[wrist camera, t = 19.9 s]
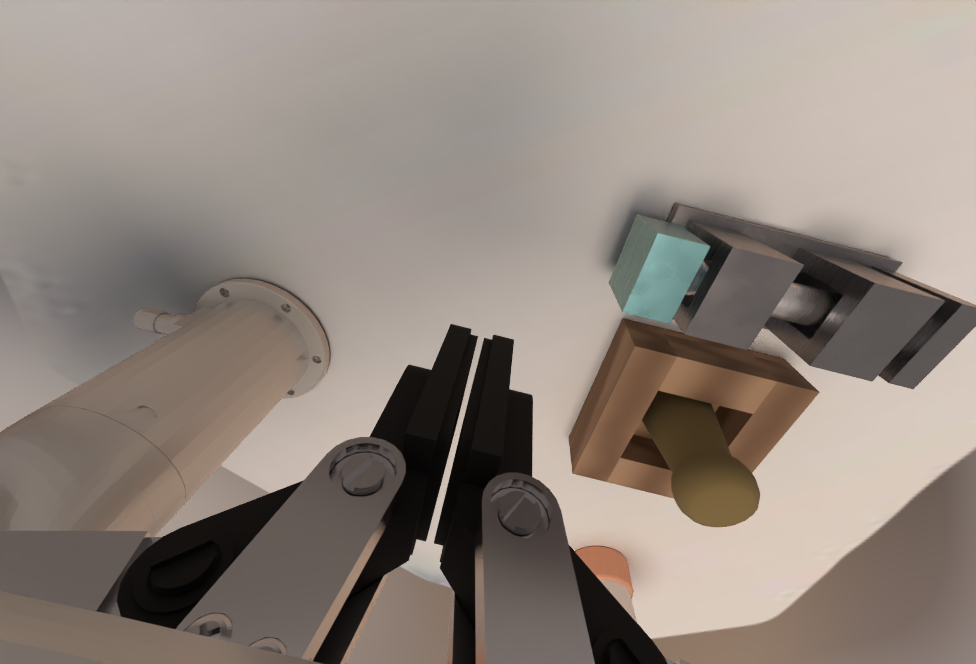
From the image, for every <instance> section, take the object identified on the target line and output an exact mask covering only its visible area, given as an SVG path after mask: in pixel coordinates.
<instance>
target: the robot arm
mask: <svg viewBox="0 0 976 664" xmlns="http://www.w3.org/2000/svg"><path fill="white" fill-rule="evenodd" d="M133 324H134V325H135V327H136V328H140V329H144V330H148V331H152V332H156V333H164V334H167V336H165V337H163V338H161V339H160V340H158V341H156V342H154V343H153V344H151V345H149V346H147V347H146V348H144V349H142V350H140V351H139V352H137V353H135V354H134V355H132V356H130V357H128V358H127V359H125V360H123V361H121V362H120V363H118V364H116V365H114V366H113V367H111V368H109V369H107V370H106V371H104V372H102V373H100V374H99V375H97V376H95V377H93V378H92V379H90V380H88V381H87V382H85V383H83V384H81V385H80V386H78V387H76V388H74V389H73V390H71V391H69V392H67V393H66V394H64V395H62V396H60V397H59V398H57V399H55V400H53V401H52V402H50V403H48V404H46V405H45V406H43V407H41V408H40V409H38V410H36V411H35V412H32V413H31V414H29V415H27V416H26V417H24V418H22V419H21V420H19V421H17V422H16V423H14V424H12V425H11V426H9V427H7V428H6V429H5V430H3V431H2V432H0V664H346V663H347V661H348V659H349V657H350V655H351V653H352V651H353V649H354V646H355V645H356V643H357V640H358V638H359V636H360V634H361V632H362V630H363V628H364V626H365V624H366V622H367V620H368V618H369V616H370V613H371V611H372V609H373V607H374V605H375V603H376V601H377V599H378V597H379V595H380V592H381V591H382V588H383V586H384V584H385V582H386V580H387V576H388V573H389V572H391V571H392V570H394V569H395V568H397V567H399V566H400V565H402V564H404V563H405V562H407V561H409V557H410V555H412V553H413V550H414V546H415V543H416V539H418V540H422V541H426V539H427V535H428V532H429V528H430V524H431V520H432V516H433V512H434V509H435V505H436V501H437V497H438V493H439V489H440V486H441V482H442V478H443V474H444V470H445V467H446V463H447V459H448V455H449V451H450V447H451V444H452V440H453V436H454V432H455V428H456V424H457V421H458V417H459V413H460V408H461V404H462V400H463V396H464V392H465V388H466V384H467V380H468V375H469V371H470V367H471V363H472V359H473V355H474V351H475V347H476V342H477V338H478V336H474V335H470V334H471V329H469V328H465V327H461V326H457V325H453V324H451V325H450V327H449V330H448V332H447V335H446V337H445V339H444V342H443V344H442V346H441V349H440V351H439V354H438V356H437V358H436V361H435V363H434V365H433V368H432V370H429V369H425V368H421V367H417V366H413V365H408V366H407V367H406V369H405V371H404V373H403V375H402V377H401V378H400V380H399V382H398V384H397V386H396V388H395V390H394V392H393V394H392V395H391V397H390V399H389V401H388V403H387V405H386V407H385V409H384V411H383V413H382V414H381V416H380V418H379V420H378V422H377V424H376V426H375V428H374V430H373V431H372V433H371V435H370V437H359V438H354V439H350V440H347V441H345V442H343V443H341V444H339V445H337V446H335V447H334V448H333V449H332V450H331V451H330V452H328V453H327V454H326V456H325V457H324V458H323V459H322V460H321V461H320V462H319V464H318V465H317V466H316V467H315V468H314V469H313V471H312V472H311V473H310V474H309V475H308V476H307V478H306V479H305V480H304V481H301V482H299V483H296V484H293V485H291V486H288V487H286V488H283V489H280V490H278V491H275V492H273V493H270V494H267V495H265V496H262V497H260V498H257V499H255V500H252V501H250V502H247V503H244V504H242V505H239V506H236V507H234V508H231V509H229V510H226V511H224V512H221V513H218V514H216V515H213V516H210V517H208V518H205V519H203V520H200V521H198V522H195V523H192V524H190V525H187V526H185V527H182V528H180V529H178V530H176V531H174V532H172V533H170V534H168V535H166V536H163V537H155V536H156V535H157V534H158V533H159V532H160V531H161V529H162V528H163V527H164V526H165V525H166V524H167V523H168V522H169V521H170V520H171V518H172V517H173V516H174V515H175V514H176V513H177V512H178V511H179V510H180V509H181V508H182V506H183V505H184V504H185V503H186V502H187V501H188V500H189V499H190V497H191V496H192V495H193V494H194V493H195V492H196V491H197V490H198V489H199V488H200V487H201V485H202V484H203V483H204V482H205V481H206V480H207V479H208V478H209V477H210V476H211V475H212V473H214V471H215V470H216V469H217V468H218V467H219V466H220V465H221V464H222V463H223V462H224V461H225V460H226V458H227V457H228V456H229V455H230V454H231V453H232V452H233V451H234V450H235V449H236V448H237V447H238V445H239V444H240V443H241V442H242V441H243V440H244V439H245V438H246V437H247V436H248V435H249V434H250V432H251V431H252V430H253V429H254V428H255V427H256V426H257V425H258V424H259V423H260V422H261V421H262V419H263V418H264V417H265V416H266V415H267V414H268V413H269V412H270V411H271V410H272V409H273V407H274V406H275V405H276V404H277V403H278V402H279V401H280V400H281V399H282V398H292V397H298V396H300V395H303V394H306V393H307V392H309V391H310V390H312V389H313V388H314V387H315V386H316V385H317V384H318V383H319V382H320V381H321V379H322V378H323V376H324V375H325V373H326V371H327V368H328V365H329V356H330V353H329V347H328V342H327V339H326V336H325V333H324V331H323V329H322V328H321V326H320V324H319V322H318V321H317V319H316V318H315V317H314V316H313V314H312V313H311V312H310V311H309V309H307V308H306V307H305V306H304V305H303V304H302V303H301V302H300V301H299V300H298V299H296V298H295V297H293V296H292V295H291V294H289V293H288V292H286V291H284V290H282V289H280V288H278V287H276V286H274V285H272V284H269V283H266V282H263V281H259V280H253V279H232V280H228V281H224V282H222V283H220V284H218V285H216V286H214V287H212V288H210V289H209V290H208V291H206V292H205V293H204V294H203V295H202V296H201V298H200V299H199V300H198V302H197V305H196V308H195V310H194V312H193V313H191V314H190V315H187V314H183V313H180V314H177V315H175V316H174V315H170V314H168V313H166V312H162V311H158V310H154V309H150V308H142V309H140V310H138V311H137V312H136V313H135V315H134V318H133ZM513 344H514V340H513V339H509V338H505V337H501V336H497V335H493V338H492V340H491V339H487V338H484V341H483V345H482V349H481V353H480V357H479V361H478V365H477V369H476V373H475V377H474V381H473V385H472V389H471V393H470V397H469V401H468V405H467V409H466V413H465V417H464V421H463V425H462V429H461V433H460V437H459V441H458V445H457V449H456V454H455V458H454V462H453V466H452V470H451V474H450V478H449V483H448V487H447V491H446V495H445V499H444V503H443V507H442V512H441V516H440V520H439V524H438V528H437V532H436V536H435V541H434V543H435V544H439V545H443V549H442V554H441V558H440V562H441V566H440V569H441V571H442V572H443V574H444V576H445V577H446V579H447V581H448V582H449V584H450V586H451V587H452V591H451V596H450V614H449V637H448V659H447V664H689V663H687V662H685V661H683V660H681V659H678V660H677V661H676V662H675V663H674V662H672V661H670V660H668V659H666V658H664V656H663V655H662V653H661V652H660V651H659V649H658V648H657V646H656V645H655V644H654V642H653V641H652V640H651V639H650V637H649V636H648V635H647V634H646V633H645V632H644V631H643V629H642V628H641V627H640V626H639V625H638V624H637V622H636V621H635V620H634V619H633V618H632V617H631V616H630V614H629V613H628V612H627V611H626V610H625V609H624V608H623V606H622V605H621V604H620V603H619V602H618V601H617V600H616V598H615V597H614V596H613V595H612V594H611V593H610V591H609V590H608V589H607V588H606V587H605V586H604V585H603V583H602V582H601V581H600V580H599V579H598V578H597V577H596V575H595V574H594V573H593V572H592V571H591V570H590V569H589V567H588V566H587V565H586V564H585V563H584V562H583V560H582V559H581V558H580V557H579V556H578V555H577V554H576V552H575V551H574V550H573V549H572V548H571V547H570V546H569V544H568V540H567V536H566V531H565V527H564V522H563V518H562V513H561V510H560V507H559V504H558V502H557V499H556V498H555V496H554V495H553V494H552V492H551V491H550V489H548V488H547V487H546V486H545V485H544V484H543V483H542V482H540V481H539V480H537V479H535V478H533V477H532V425H533V398H532V395H530V394H526V393H522V392H518V391H514V390H510V389H509V385H510V375H511V365H512V354H513Z"/></svg>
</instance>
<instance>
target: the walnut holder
mask: <svg viewBox="0 0 976 664" xmlns="http://www.w3.org/2000/svg"><path fill="white" fill-rule="evenodd" d="M658 391H662V392H666V393H670V394H674V395H678V396H682V397H687V398H691V399H695V400H699V401H703V402H707V403H711V404H712V407H713V409H714V412H715V414H716V417H717V420H718V422H719V425H720V427H721V430H722V432H723V435H724V437H725V440H726V442H727V445H728V447H729V450H730V453H731V455H732V457H734V458H737V459H738V460H739V461H740V462H741V463H743V464H744V465H745V466H746V467H747V468H748V469H749V470H750V471H751V473H752V472H753V471H754V470H755V469H756V467H757V466H758V465H759V464H760V463H761V462H762V460H763V459H764V458H765V457H766V456H767V454H768V453H769V452H770V451H771V450H772V448H773V447H774V446H775V445H776V444H777V442H778V441H779V440H780V439H781V438H782V436H783V435H784V434H785V433H786V432H787V430H788V429H789V428H790V427H791V426H792V425H793V423H794V422H795V421H796V420H797V419H798V417H799V416H800V415H801V414H802V413H803V411H804V410H805V409H806V408H807V407H808V405H809V404H810V403H811V402H812V401H813V399H814V398H815V397H816V396H817V395H818V393H819V391H818V390H817V389H816V388H815V387H813V386H812V385H811V384H810V383H809V382H808V381H807V380H806V379H805V378H804V377H803V376H802V375H801V374H800V373H799V372H798V371H797V370H795V369H794V368H793V367H792V366H791V365H790V364H789V363H788V362H787V361H786V360H785V359H782V358H778V357H774V356H770V355H766V354H762V353H758V352H754V351H750V350H745V349H741V348H737V347H733V346H729V345H725V344H721V343H717V342H713V341H709V340H705V339H701V338H697V337H693V336H689V335H685V334H682V333H678V332H674V331H670V330H666V329H662V328H658V327H654V326H650V325H646V324H642V323H638V322H634V321H630V320H626V319H622V321H621V323H620V326H619V328H618V330H617V332H616V335H615V337H614V339H613V341H612V343H611V346H610V348H609V350H608V352H607V354H606V357H605V359H604V361H603V363H602V365H601V368H600V370H599V372H598V374H597V377H596V379H595V381H594V383H593V385H592V388H591V390H590V392H589V394H588V396H587V399H586V401H585V403H584V405H583V408H582V410H581V412H580V414H579V416H578V419H577V421H576V423H575V425H574V427H573V430H572V432H571V434H570V436H569V445H570V454H571V463H572V473H573V474H577V475H581V476H585V477H589V478H593V479H597V480H601V481H605V482H609V483H613V484H617V485H621V486H625V487H630V488H634V489H638V490H642V491H646V492H650V493H654V494H658V495H662V496H666V497H670V498H674V496H673V493H672V489H671V476H672V474H673V473H672V471H671V470H670V468H669V466H668V465H667V463H666V461H665V459H664V458H663V456H662V454H661V453H660V451H659V449H658V447H657V446H656V444H655V442H654V441H653V439H652V437H651V435H650V434H649V432H648V430H647V429H646V427H645V425H644V423H643V422H642V419H643V417H644V415H645V413H646V411H647V410H648V408H649V406H650V404H651V403H652V401H653V399H654V397H655V396H656V394H657V392H658Z"/></svg>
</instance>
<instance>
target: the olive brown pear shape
mask: <svg viewBox="0 0 976 664" xmlns="http://www.w3.org/2000/svg"><path fill="white" fill-rule="evenodd" d="M642 422H643V423H644V425H645V427H646V429H647V430H648V432H649V434H650V435H651V437H652V439H653V441H654V442H655V444H656V446H657V447H658V449H659V451H660V453H661V454H662V456H663V458H664V459H665V461H666V463H667V465H668V466H669V468H670V470H671V471H672V473H673V474H672V476H671V489H672V493H673V496H674V499H675V501H676V503H677V505H678V507H679V508H680V509H681V511H682V512H683V513H684V514H685V515H687V516H688V517H689V518H690V519H692V520H693V521H694V522H696V523H699V524H701V525H704V526H710V527H727V526H732V525H736V524H738V523H740V522H743V521H745V520H746V519H748V518H749V517H751V516H752V515H753V514H754V513H755V511H756V510H757V508H758V504H759V498H760V492H759V488H758V485H757V482H756V479H755V477H754V476H753V474H752V473H751V471H750V470H749V469H748V468H747V467H746V466H745V465H744V464H743V463H741V462H740V461H739V460H738V459H737V458H734V457H732V455H731V453H730V450H729V447H728V445H727V442H726V440H725V437H724V435H723V432H722V430H721V427H720V425H719V422H718V420H717V417H716V414H715V412H714V409H713V407H712V404H711V403H707V402H703V401H699V400H695V399H691V398H687V397H682V396H678V395H674V394H670V393H666V392H662V391H658V392H657V394H656V396H655V397H654V399H653V401H652V403H651V404H650V406H649V408H648V410H647V411H646V413H645V415H644V417H643V419H642Z"/></svg>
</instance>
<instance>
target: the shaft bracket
mask: <svg viewBox="0 0 976 664" xmlns="http://www.w3.org/2000/svg"><path fill="white" fill-rule="evenodd" d="M667 222H670V223H673V224H677V225H681V226H682V227H684V228H685V229H686V230H688V231H689V232H691V233H692V234H694V235H695V236H696V237H698V238H699V239H701V240H702V241H704V242H705V243H706V244H708V245H709V246H711V247H710V249H709V250H708V252H707V254H706V256H705V258H704V260H707V261H711V262H712V263H711V265H710V267H709V269H708V271H707V273H706V274H705V276H704V278H703V280H702V282H701V284H700V286H699V287H698V289H697V291H696V293H695V295H694V297H691V296H687V295H685V296H684V298H683V300H682V302H681V304H680V306H679V307H678V309H677V311H676V313H675V315H674V317H673V319H674V320H675V322H676V323H677V325H678V326H679V327H680V329H681V330H682V332H683V333H684V334H685V335H689V336H693V337H697V338H701V339H705V340H709V341H713V342H717V343H721V344H725V345H729V346H733V347H737V348H741V349H745V350H748V348H749V347H750V345H751V344H752V342H753V341H754V339H755V338H756V336H757V335H758V333H759V332H760V330H761V329H762V328H765V329H769V330H770V331H771V332H772V333H773V334H774V335H776V336H777V337H778V338H779V339H780V340H781V341H782V342H783V343H785V344H786V345H787V346H788V347H789V348H790V349H791V350H793V351H794V352H795V353H796V354H797V355H798V356H799V357H801V358H802V359H803V360H804V361H805V362H806V363H807V364H808V365H810V366H813V367H817V368H821V369H825V370H829V371H833V372H837V373H841V374H845V375H849V376H853V377H857V378H861V379H865V380H869V381H873V380H874V379H875V378H876V377H877V376H878V375H879V376H880V377H881V378H883V379H884V380H885V381H887V382H888V383H891V384H895V385H899V386H903V387H907V388H911V389H914V388H915V387H916V386H917V385H918V384H919V383H920V382H921V381H922V380H923V379H924V378H925V377H926V376H927V375H928V374H929V373H930V372H931V371H932V370H933V369H934V368H935V367H936V366H937V365H938V364H939V363H940V362H941V361H942V360H943V359H944V358H945V357H946V356H947V355H948V354H949V353H950V352H951V351H952V350H953V349H954V348H955V347H956V346H957V345H958V344H959V343H960V342H961V340H962V339H963V338H964V337H965V336H966V335H967V334H968V333H969V332H970V331H971V330H972V329H973V328H974V327H975V326H976V305H974V304H972V303H969V302H967V301H965V300H962V299H960V298H957V297H955V296H952V295H950V294H948V293H945V292H943V291H940V290H938V289H935V288H933V287H931V286H928V285H926V284H923V283H921V282H918V281H916V280H914V279H911V278H909V277H906V276H904V275H901V274H899V273H896V272H895V271H896V270H897V269H898V268H899V267H900V265H901V264H902V262H900V261H897V260H894V259H892V258H888V257H884V256H880V255H876V254H873V253H869V252H865V251H861V250H857V249H853V248H849V247H845V246H841V245H837V244H833V243H829V242H825V241H822V240H818V239H814V238H810V237H806V236H802V235H798V234H794V233H790V232H786V231H782V230H778V229H774V228H771V227H767V226H763V225H759V224H755V223H751V222H747V221H743V220H739V219H735V218H731V217H727V216H723V215H719V214H716V213H712V212H708V211H704V210H700V209H696V208H692V207H688V206H684V205H680V204H676V203H675V204H674V206H673V208H672V211H671V213H670V215H669V217H668V219H667ZM793 282H794V283H798V284H802V285H806V286H810V287H814V288H818V289H822V290H826V291H830V292H834V293H838V294H841V295H843V297H842V298H841V299H840V301H839V302H838V303H837V305H836V306H835V307H834V309H833V310H832V311H831V313H830V314H829V315H828V317H827V318H826V319H825V321H824V322H823V323H822V325H821V326H820V327H819V329H818V328H814V327H810V326H806V325H802V324H798V323H794V322H790V321H786V320H782V319H778V318H774V317H771V314H772V313H773V311H774V310H775V308H776V307H777V305H778V304H779V302H780V301H781V299H782V298H783V296H784V295H785V293H786V292H787V290H788V289H789V287H790V286H791V284H792V283H793Z"/></svg>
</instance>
